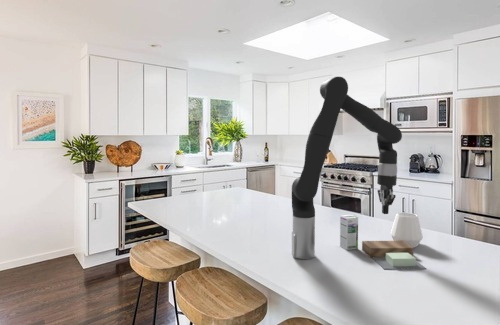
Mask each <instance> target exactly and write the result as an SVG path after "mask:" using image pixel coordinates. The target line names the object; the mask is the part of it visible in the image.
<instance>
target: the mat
mask: <svg viewBox="0 0 500 325" xmlns="http://www.w3.org/2000/svg"><path fill="white" fill-rule="evenodd" d="M372 259H373V260H374V261H375V262H376V263H377V264H378V265H379V266H380V267H381V268H382V269H383V270H427V267H426V266H425V265H423V264H421V263H420V262H418V261H417V260H416V266H391V265H390V264H389V263H388V262H387V261H386V257H373V258H372Z"/></svg>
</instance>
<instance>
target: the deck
mask: <svg viewBox="0 0 500 325" xmlns="http://www.w3.org/2000/svg"><path fill="white" fill-rule="evenodd" d="M414 248H415V247H411V246H410V245H409V244H407V243H406V242H404V241H394V240H362V242H361V250H362V251H363V253H365V254H366V256H368V257H369V258H371V259H373V257H386V253H409V254H410V255H412V256H413V257H414Z"/></svg>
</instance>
